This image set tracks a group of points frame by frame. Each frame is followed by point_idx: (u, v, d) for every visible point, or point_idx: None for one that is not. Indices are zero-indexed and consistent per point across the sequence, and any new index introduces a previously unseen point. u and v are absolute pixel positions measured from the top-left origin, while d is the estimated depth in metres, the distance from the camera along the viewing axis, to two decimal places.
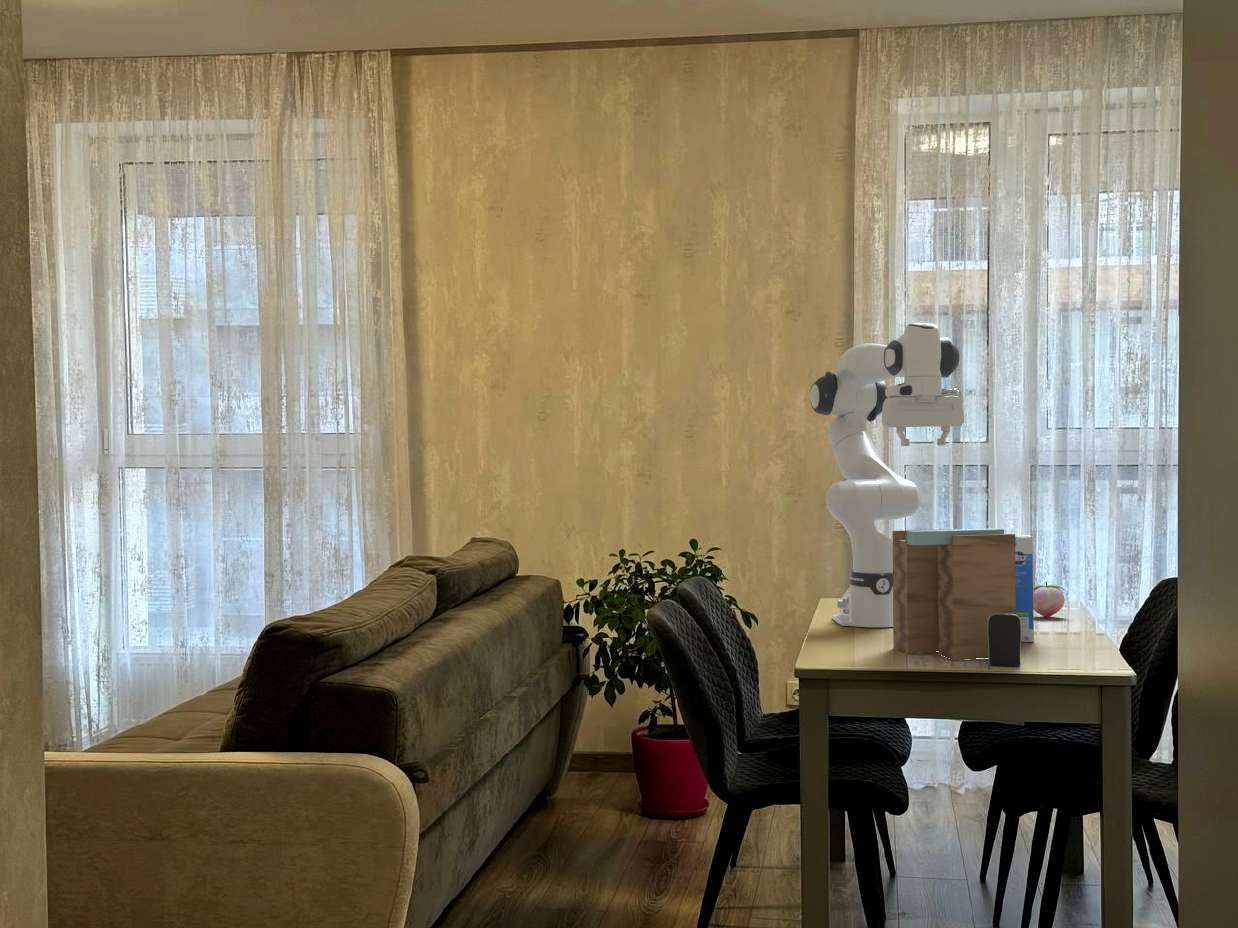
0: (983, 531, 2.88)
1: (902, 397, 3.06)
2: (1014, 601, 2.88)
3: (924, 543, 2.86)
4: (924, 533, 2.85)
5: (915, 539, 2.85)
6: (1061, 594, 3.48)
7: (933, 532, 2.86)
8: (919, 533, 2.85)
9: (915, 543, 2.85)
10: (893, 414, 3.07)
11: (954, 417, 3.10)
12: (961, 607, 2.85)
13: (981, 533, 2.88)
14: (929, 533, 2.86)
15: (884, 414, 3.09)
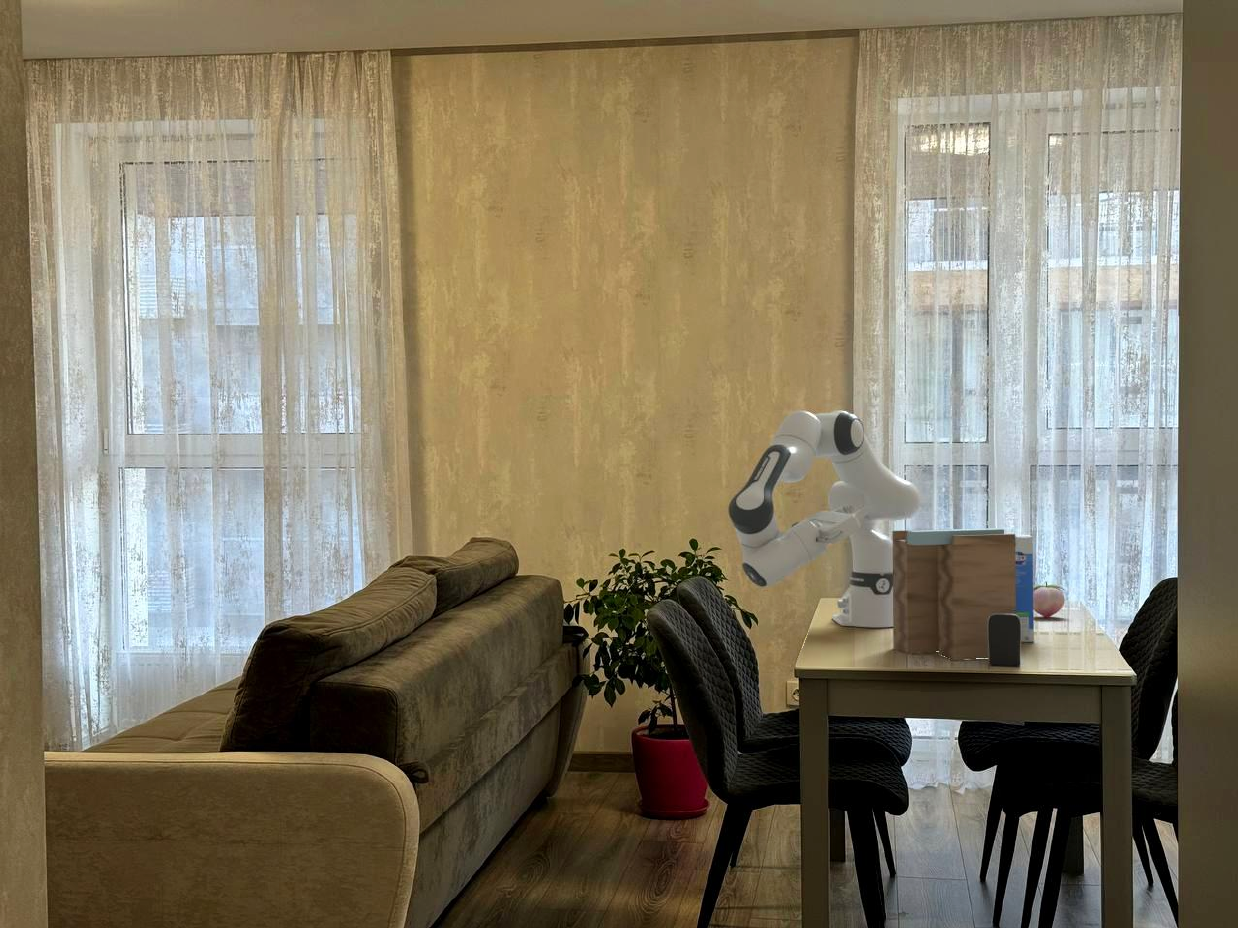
0: (983, 531, 2.88)
1: None
2: (1014, 601, 2.88)
3: (924, 543, 2.86)
4: (924, 533, 2.85)
5: (915, 539, 2.85)
6: (1061, 594, 3.48)
7: (933, 532, 2.86)
8: (919, 533, 2.85)
9: (915, 543, 2.85)
10: None
11: None
12: (961, 607, 2.85)
13: (981, 533, 2.88)
14: (929, 533, 2.86)
15: None
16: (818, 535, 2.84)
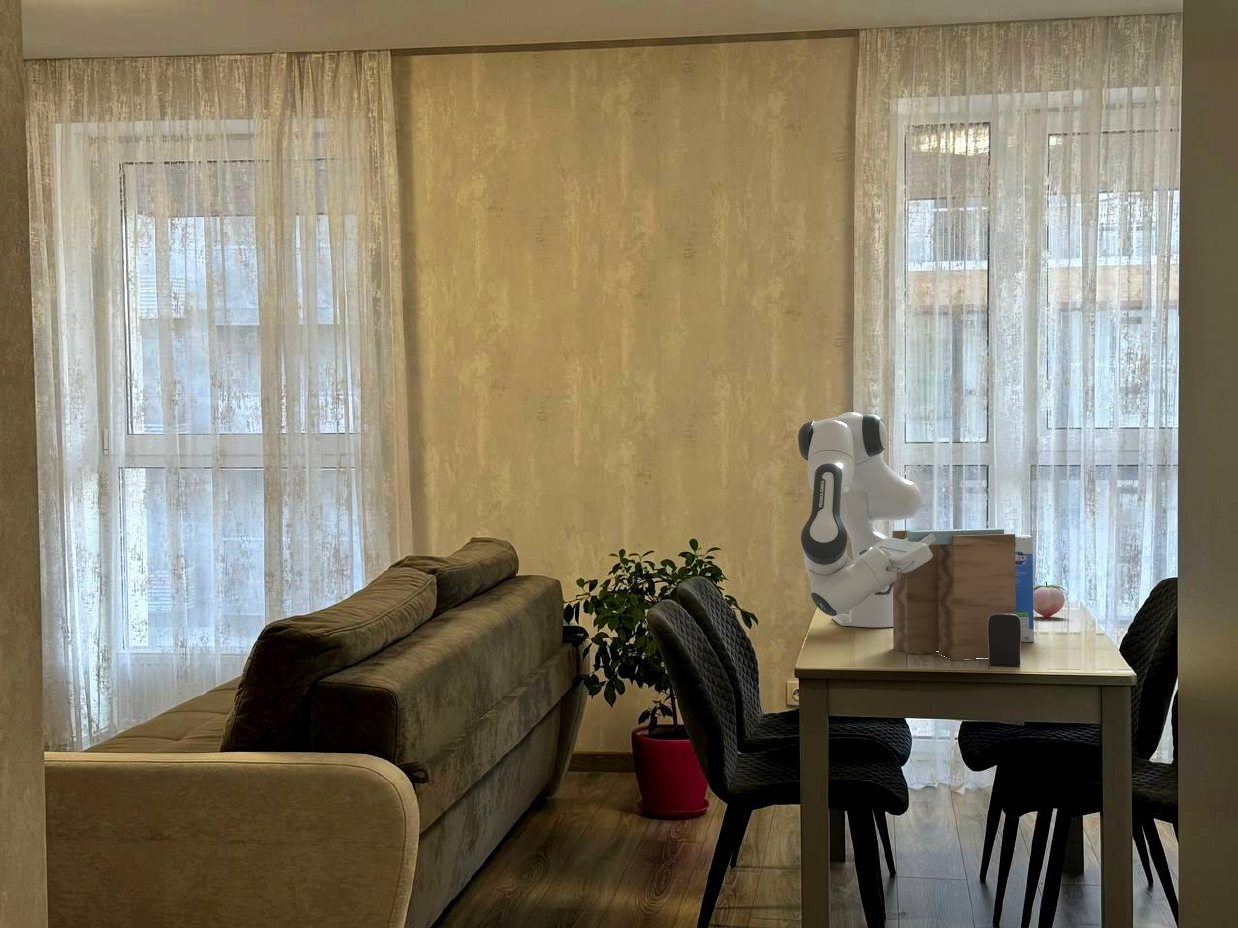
0: (983, 531, 2.88)
1: None
2: (1014, 601, 2.88)
3: None
4: (924, 533, 2.86)
5: (915, 539, 2.85)
6: (1061, 594, 3.48)
7: (933, 532, 2.86)
8: (919, 533, 2.85)
9: None
10: None
11: None
12: (961, 607, 2.85)
13: (981, 533, 2.88)
14: (929, 533, 2.86)
15: None
16: (888, 564, 2.81)
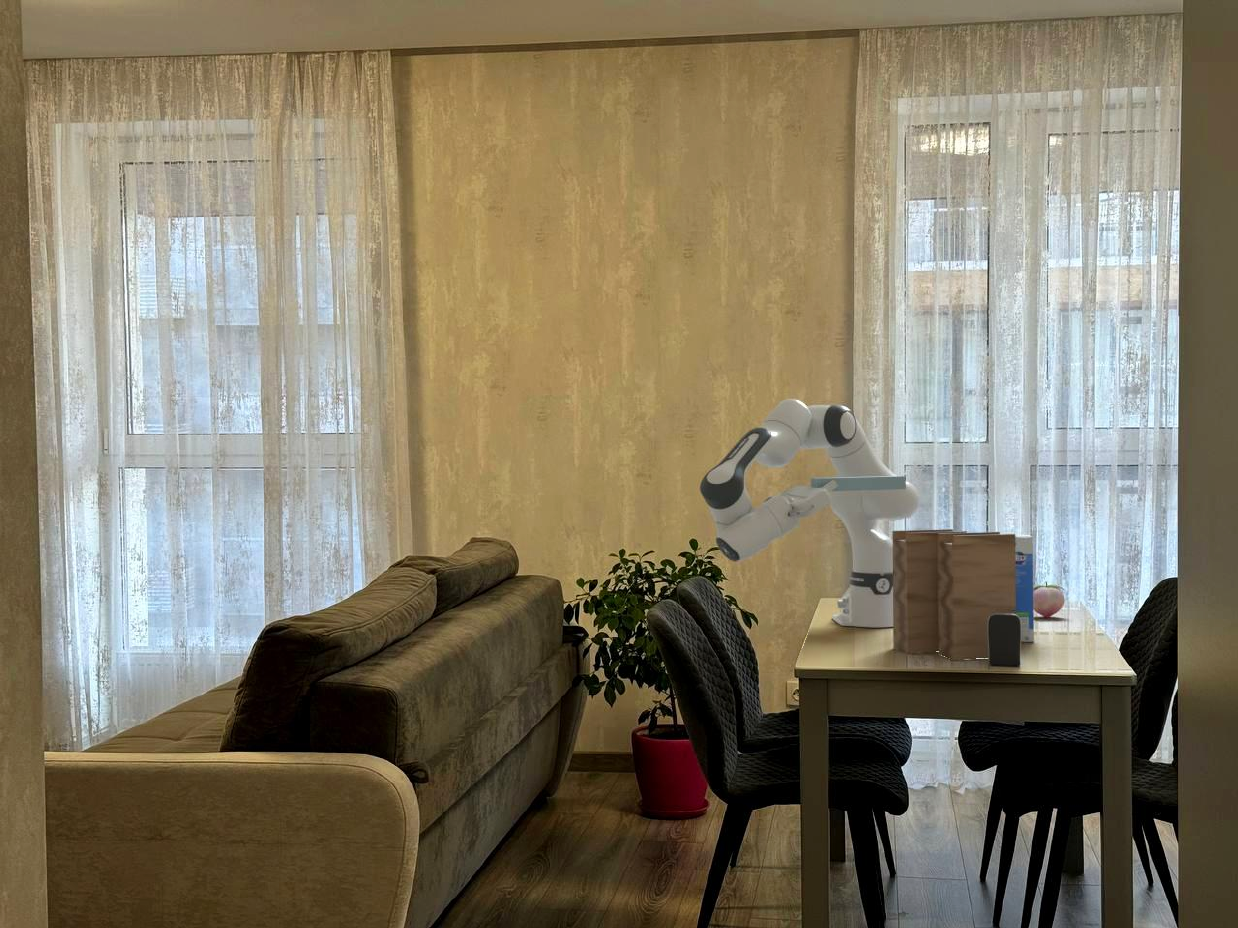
0: (885, 478, 2.95)
1: None
2: (1014, 601, 2.88)
3: None
4: (826, 480, 2.92)
5: (817, 485, 2.92)
6: (1061, 594, 3.48)
7: (835, 479, 2.92)
8: (821, 480, 2.92)
9: None
10: None
11: None
12: (961, 607, 2.85)
13: (883, 480, 2.95)
14: None
15: None
16: (790, 509, 2.88)
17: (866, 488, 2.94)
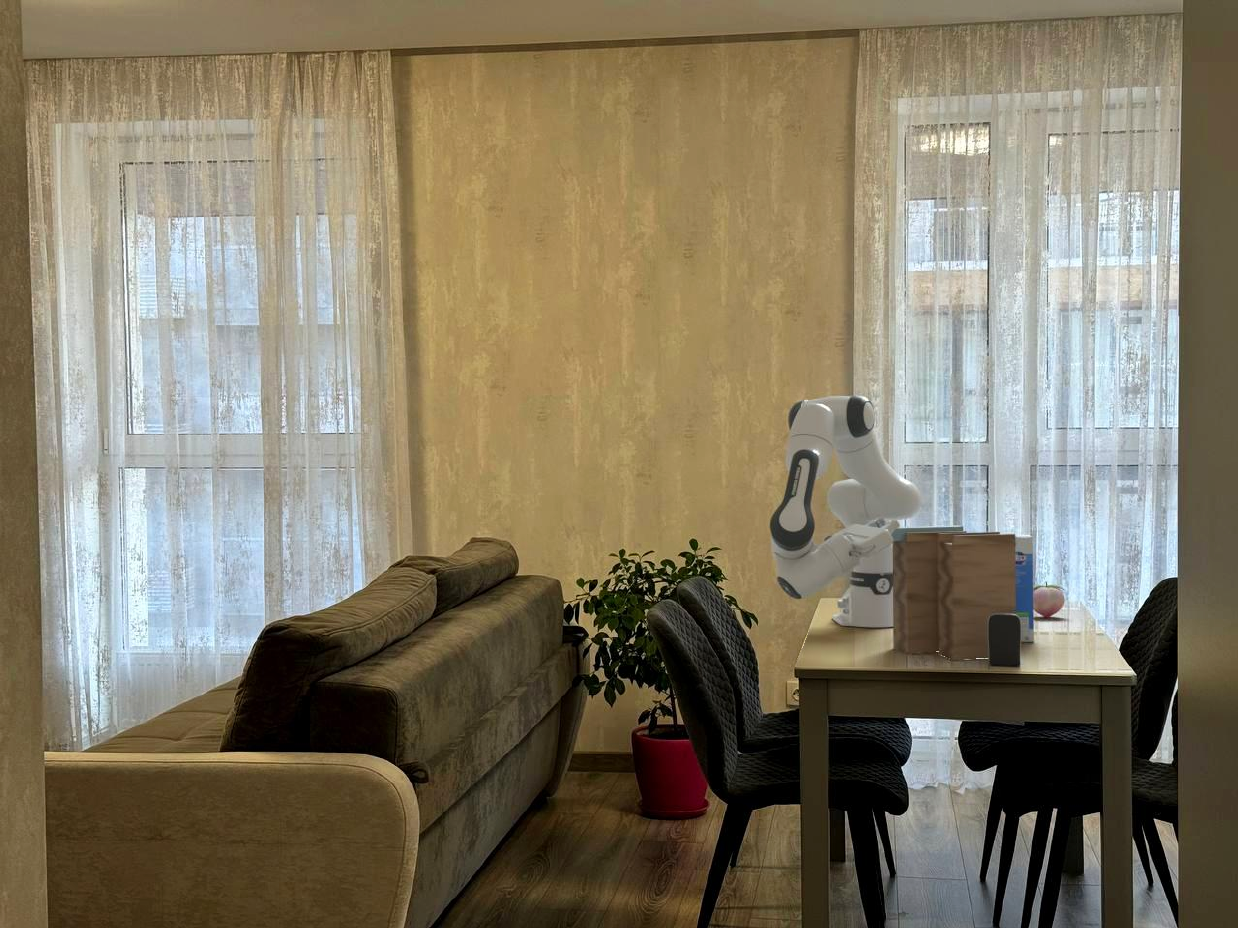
0: (943, 528, 2.99)
1: None
2: (1014, 601, 2.88)
3: None
4: None
5: None
6: (1061, 594, 3.48)
7: None
8: None
9: None
10: None
11: None
12: (961, 607, 2.85)
13: (941, 530, 2.99)
14: None
15: None
16: (851, 549, 2.92)
17: None
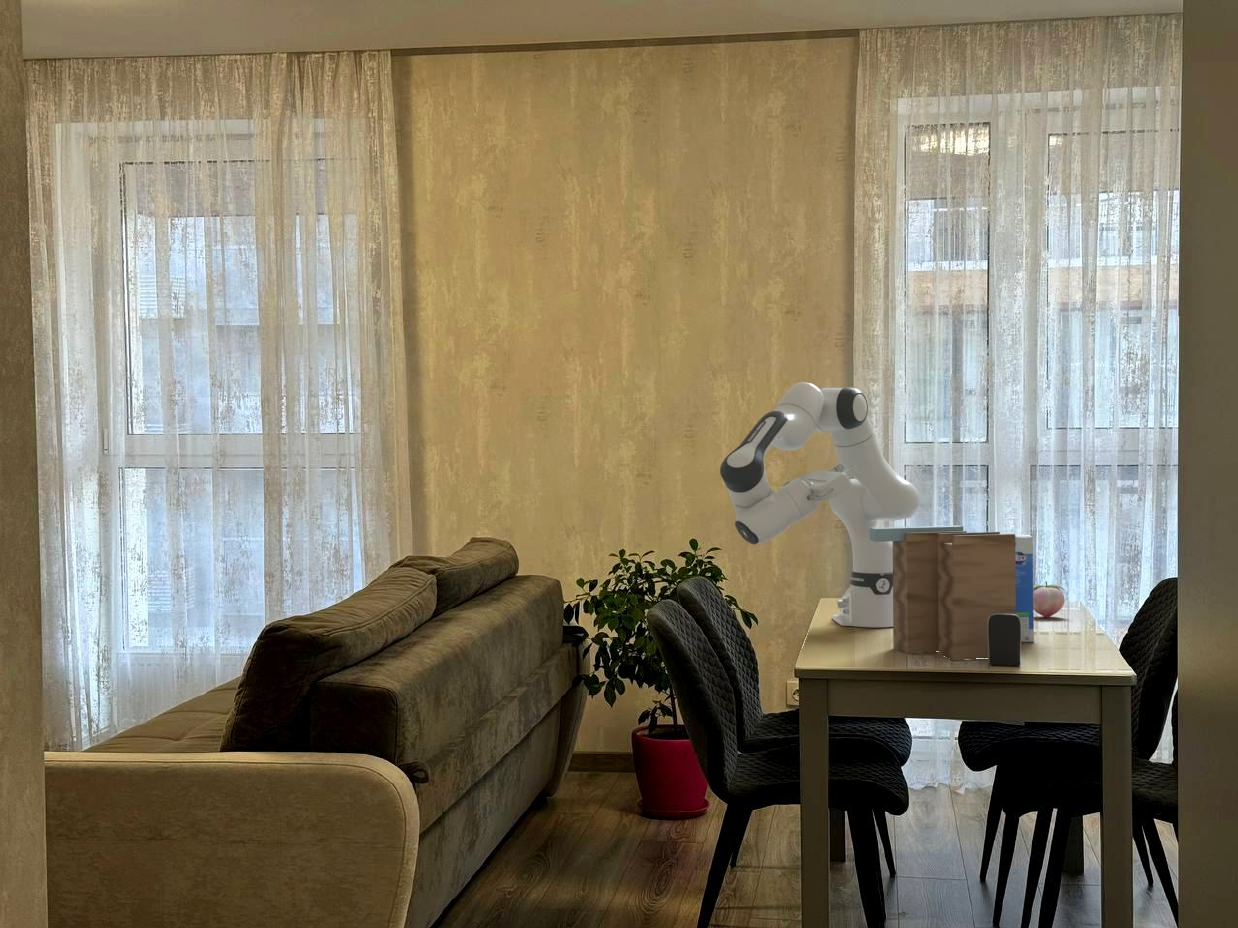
0: (943, 528, 2.99)
1: None
2: (1014, 601, 2.88)
3: (886, 540, 2.96)
4: (885, 530, 2.96)
5: (877, 535, 2.95)
6: (1061, 594, 3.48)
7: (894, 529, 2.96)
8: (881, 530, 2.96)
9: (877, 540, 2.95)
10: None
11: None
12: (961, 607, 2.85)
13: (941, 530, 2.99)
14: (890, 530, 2.96)
15: None
16: (809, 493, 2.89)
17: None
